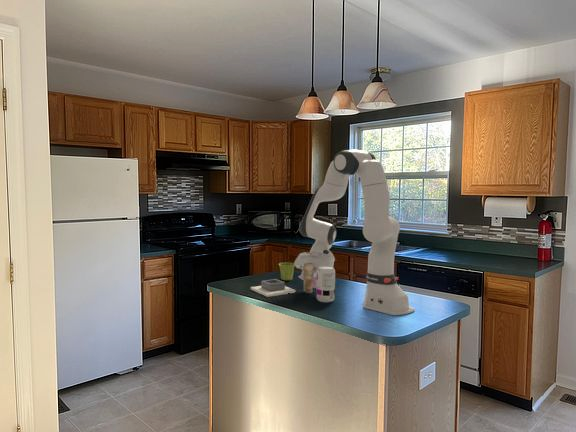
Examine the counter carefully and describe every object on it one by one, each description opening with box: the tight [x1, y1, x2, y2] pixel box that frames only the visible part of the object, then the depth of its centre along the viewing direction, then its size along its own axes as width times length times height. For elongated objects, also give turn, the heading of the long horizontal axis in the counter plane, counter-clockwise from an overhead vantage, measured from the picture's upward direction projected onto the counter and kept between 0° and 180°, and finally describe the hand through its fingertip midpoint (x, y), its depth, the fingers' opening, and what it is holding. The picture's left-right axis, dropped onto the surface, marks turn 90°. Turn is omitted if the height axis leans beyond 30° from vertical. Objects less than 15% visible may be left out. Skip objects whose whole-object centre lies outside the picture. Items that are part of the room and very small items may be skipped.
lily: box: [298, 271, 317, 290], centre depth 215 cm, size 12×12×10 cm
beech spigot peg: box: [303, 263, 314, 294], centre depth 203 cm, size 4×4×14 cm
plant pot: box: [278, 262, 296, 281], centre depth 230 cm, size 9×9×9 cm
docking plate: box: [250, 278, 296, 298], centre depth 204 cm, size 16×16×5 cm
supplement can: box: [315, 266, 336, 303], centre depth 189 cm, size 8×8×15 cm
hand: (307, 276), depth 203 cm, fingers closed on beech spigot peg, 4 cm apart
